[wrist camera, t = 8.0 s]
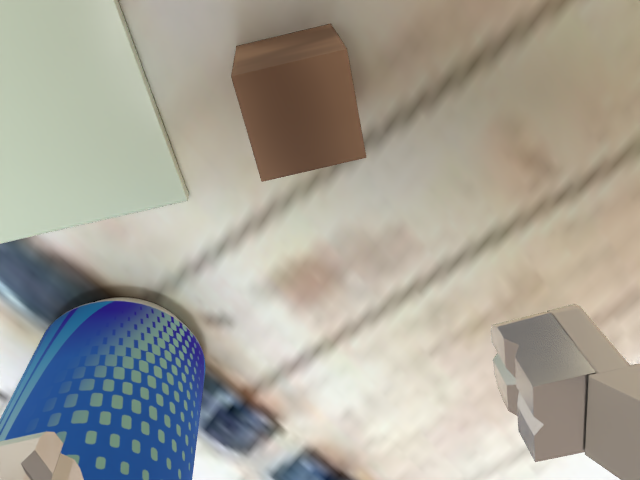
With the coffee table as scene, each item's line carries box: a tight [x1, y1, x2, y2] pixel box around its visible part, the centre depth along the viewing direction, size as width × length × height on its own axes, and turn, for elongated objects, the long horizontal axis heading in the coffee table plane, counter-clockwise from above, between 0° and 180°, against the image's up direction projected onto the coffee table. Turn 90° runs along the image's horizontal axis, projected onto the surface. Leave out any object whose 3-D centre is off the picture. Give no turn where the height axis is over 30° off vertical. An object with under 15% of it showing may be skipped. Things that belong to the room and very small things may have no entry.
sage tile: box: [0, 0, 189, 243], centre depth 23 cm, size 12×12×1 cm
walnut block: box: [231, 24, 366, 182], centre depth 22 cm, size 4×4×5 cm
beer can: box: [0, 297, 205, 480], centre depth 24 cm, size 8×8×16 cm
